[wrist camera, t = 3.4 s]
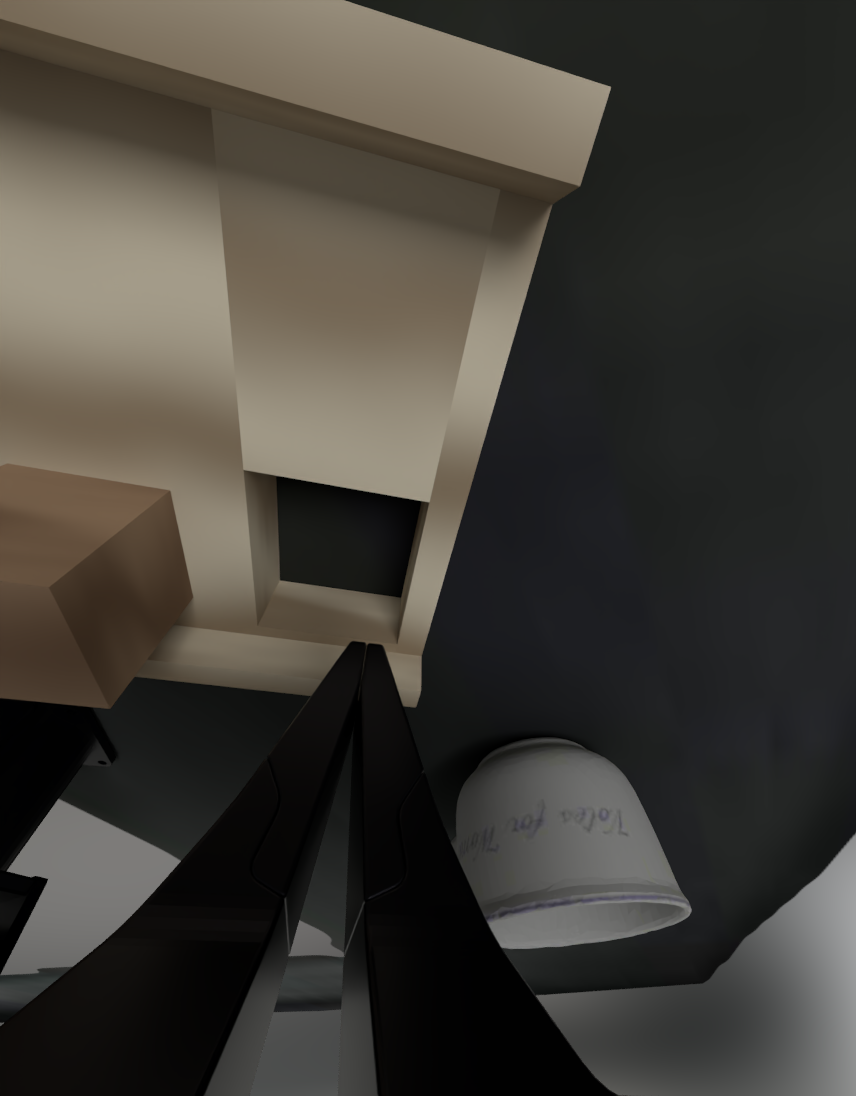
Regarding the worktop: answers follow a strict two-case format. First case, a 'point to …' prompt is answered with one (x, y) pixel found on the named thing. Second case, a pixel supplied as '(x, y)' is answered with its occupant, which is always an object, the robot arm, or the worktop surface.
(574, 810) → the teacup
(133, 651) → the walnut block
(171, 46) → the track
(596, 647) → the worktop surface
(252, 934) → the robot arm
